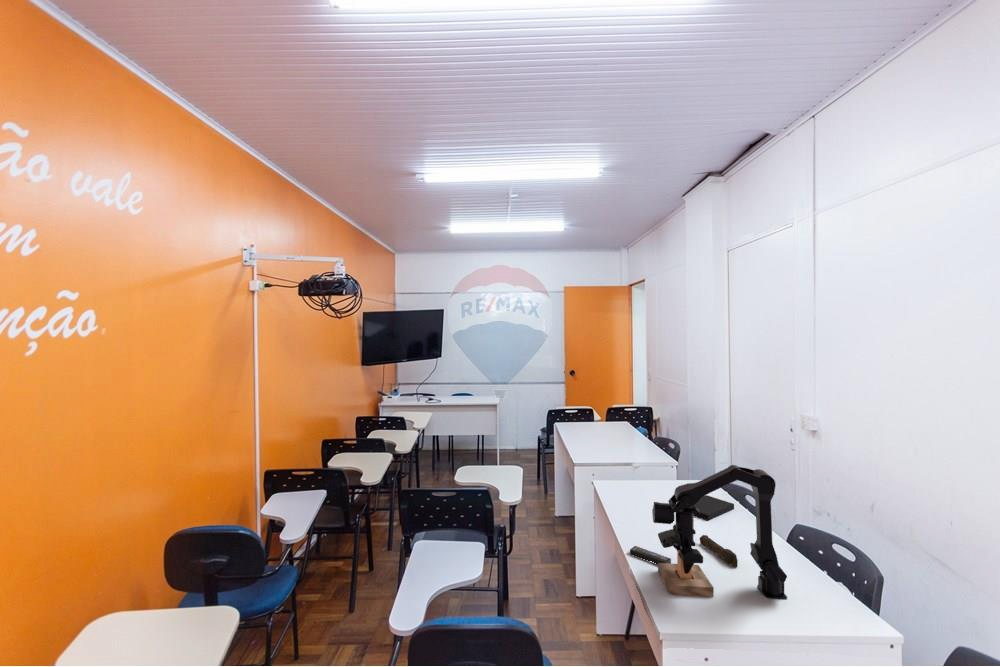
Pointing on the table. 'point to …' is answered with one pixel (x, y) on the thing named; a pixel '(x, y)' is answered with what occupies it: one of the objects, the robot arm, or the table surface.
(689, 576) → the peg
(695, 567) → the socket block
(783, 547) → the table surface
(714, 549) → the brown long rough piece
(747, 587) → the table surface
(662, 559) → the multiport hub
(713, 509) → the external hard drive
